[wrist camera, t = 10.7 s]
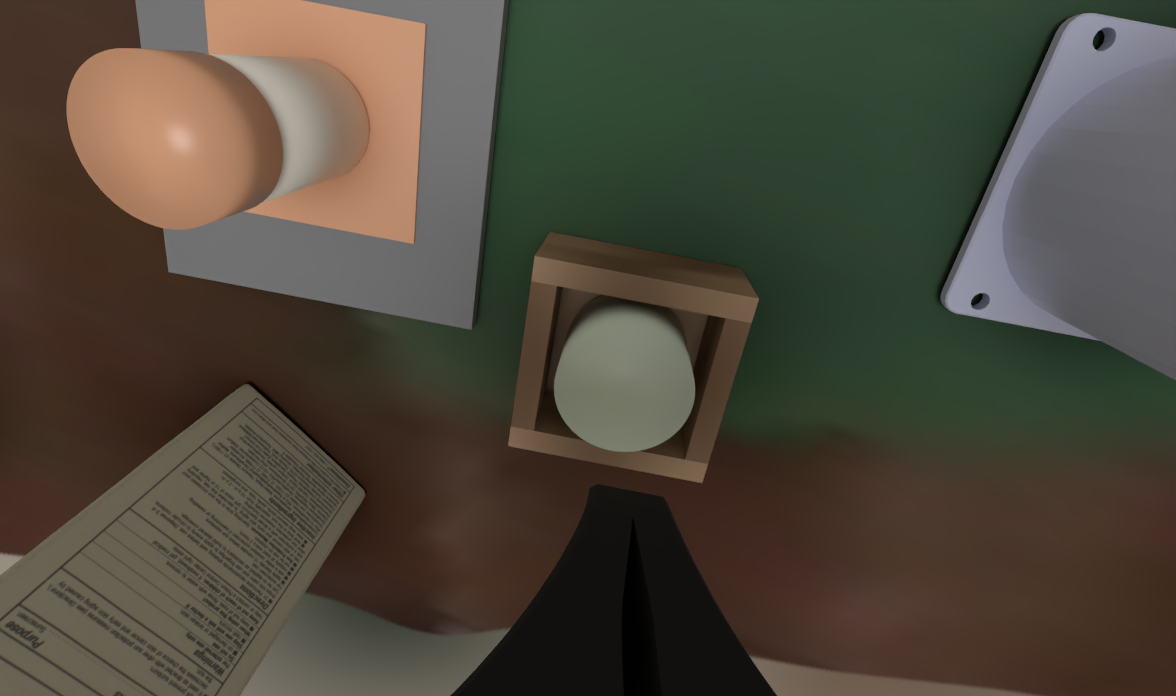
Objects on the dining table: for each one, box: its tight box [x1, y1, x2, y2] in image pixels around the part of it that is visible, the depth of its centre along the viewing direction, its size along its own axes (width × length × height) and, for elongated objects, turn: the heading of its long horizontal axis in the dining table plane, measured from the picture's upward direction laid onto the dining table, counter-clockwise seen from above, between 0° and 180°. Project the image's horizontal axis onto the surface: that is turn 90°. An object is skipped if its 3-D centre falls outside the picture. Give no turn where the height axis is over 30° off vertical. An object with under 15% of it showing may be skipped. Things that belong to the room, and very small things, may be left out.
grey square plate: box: [136, 0, 509, 330], centre depth 17 cm, size 10×11×1 cm
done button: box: [554, 295, 695, 452], centre depth 17 cm, size 4×4×3 cm
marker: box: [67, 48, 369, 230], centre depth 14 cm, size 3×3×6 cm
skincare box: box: [0, 384, 365, 696], centre depth 17 cm, size 6×4×12 cm
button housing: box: [508, 232, 759, 483], centre depth 18 cm, size 6×6×3 cm
